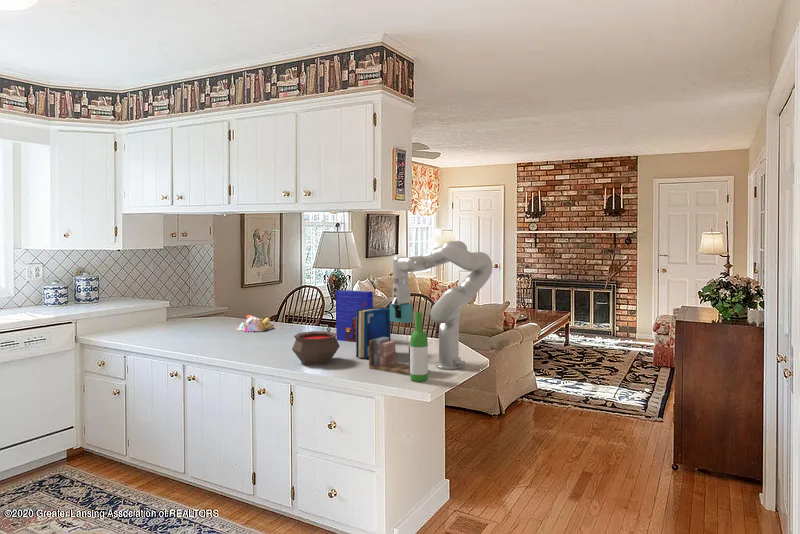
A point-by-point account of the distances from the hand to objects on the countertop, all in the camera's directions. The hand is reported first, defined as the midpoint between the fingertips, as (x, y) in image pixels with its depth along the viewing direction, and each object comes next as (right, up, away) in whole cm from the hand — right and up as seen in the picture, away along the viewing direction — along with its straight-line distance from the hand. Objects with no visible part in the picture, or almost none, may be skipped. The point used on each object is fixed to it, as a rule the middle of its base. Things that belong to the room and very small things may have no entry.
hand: (401, 316), depth 286 cm
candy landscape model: (-98, -17, +93) cm, 136 cm away
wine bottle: (+8, -25, -37) cm, 45 cm away
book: (-14, -22, +12) cm, 29 cm away
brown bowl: (-43, -23, -1) cm, 49 cm away
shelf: (-2, -23, -18) cm, 29 cm away
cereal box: (-28, -19, +51) cm, 61 cm away
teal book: (0, -2, 0) cm, 2 cm away
